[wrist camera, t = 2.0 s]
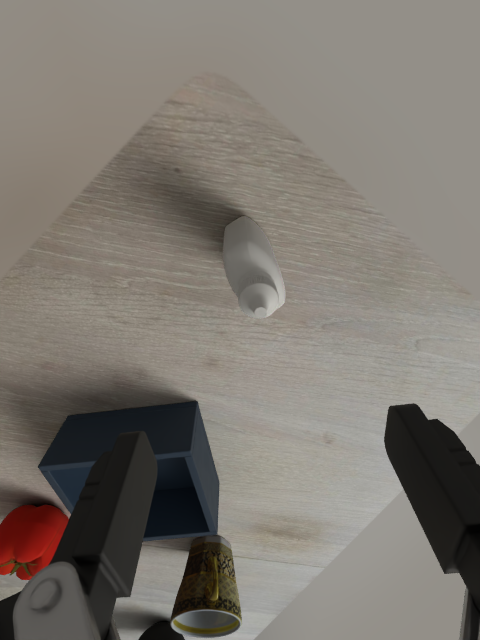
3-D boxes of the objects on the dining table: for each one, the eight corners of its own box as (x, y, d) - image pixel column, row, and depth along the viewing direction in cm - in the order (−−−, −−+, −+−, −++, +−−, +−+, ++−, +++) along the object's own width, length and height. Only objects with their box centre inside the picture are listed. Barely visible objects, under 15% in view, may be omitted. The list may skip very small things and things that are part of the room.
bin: (67, 415, 38) (37, 466, 32) (197, 400, 37) (190, 450, 31) (111, 493, 46) (93, 546, 40) (219, 482, 45) (217, 534, 39)
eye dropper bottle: (227, 277, 30) (223, 355, 19) (223, 215, 27) (218, 265, 16) (274, 276, 30) (296, 352, 19) (276, 213, 27) (303, 263, 16)
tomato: (5, 493, 45) (-33, 553, 39) (70, 495, 46) (43, 554, 39) (22, 529, 50) (-9, 588, 43) (81, 530, 50) (58, 589, 44)
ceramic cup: (234, 562, 56) (234, 639, 48) (177, 557, 55) (167, 636, 47) (249, 521, 50) (253, 602, 41) (185, 516, 49) (175, 597, 40)
